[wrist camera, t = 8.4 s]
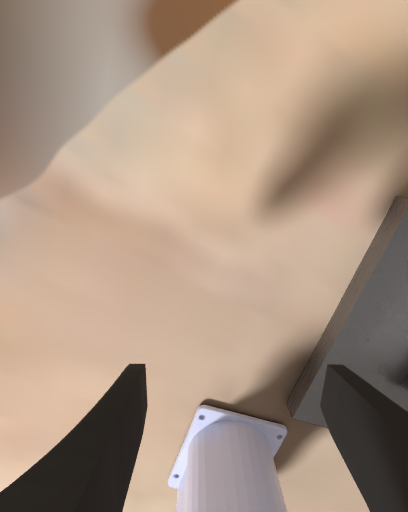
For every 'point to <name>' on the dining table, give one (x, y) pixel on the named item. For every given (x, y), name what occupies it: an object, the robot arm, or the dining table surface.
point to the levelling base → (366, 324)
